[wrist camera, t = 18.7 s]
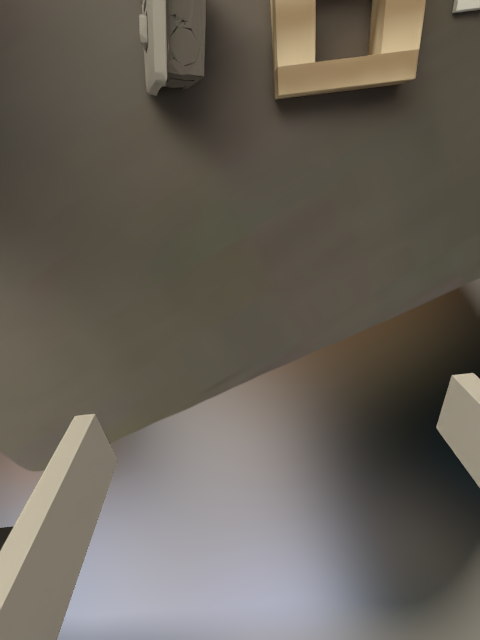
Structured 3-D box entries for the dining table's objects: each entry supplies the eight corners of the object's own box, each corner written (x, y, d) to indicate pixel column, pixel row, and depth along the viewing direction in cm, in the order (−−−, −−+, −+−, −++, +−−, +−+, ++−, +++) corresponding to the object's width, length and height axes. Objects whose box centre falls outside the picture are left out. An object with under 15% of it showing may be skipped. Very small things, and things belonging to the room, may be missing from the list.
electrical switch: (141, -45, 25) (116, -129, 17) (205, -33, 26) (209, -108, 18) (147, 95, 30) (129, 79, 22) (201, 102, 31) (203, 89, 23)
